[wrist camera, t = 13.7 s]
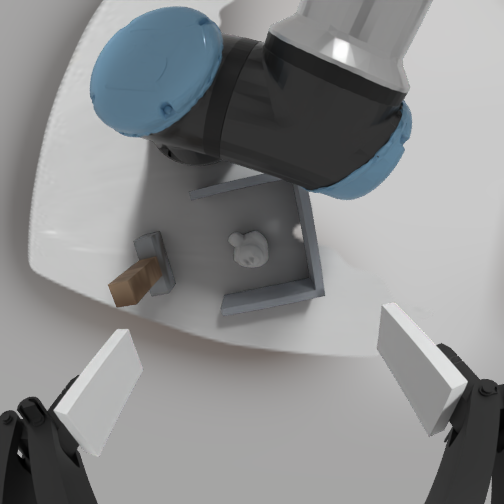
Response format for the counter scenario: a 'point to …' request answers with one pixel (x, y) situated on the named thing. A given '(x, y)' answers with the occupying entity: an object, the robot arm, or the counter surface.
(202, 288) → the counter surface
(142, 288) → the scraper
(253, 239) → the rubber duck
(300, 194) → the box
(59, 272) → the counter surface
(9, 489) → the robot arm
